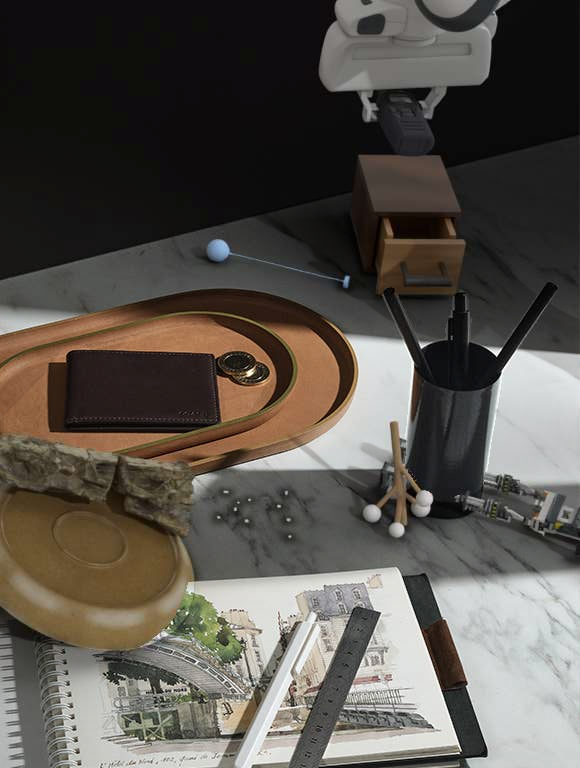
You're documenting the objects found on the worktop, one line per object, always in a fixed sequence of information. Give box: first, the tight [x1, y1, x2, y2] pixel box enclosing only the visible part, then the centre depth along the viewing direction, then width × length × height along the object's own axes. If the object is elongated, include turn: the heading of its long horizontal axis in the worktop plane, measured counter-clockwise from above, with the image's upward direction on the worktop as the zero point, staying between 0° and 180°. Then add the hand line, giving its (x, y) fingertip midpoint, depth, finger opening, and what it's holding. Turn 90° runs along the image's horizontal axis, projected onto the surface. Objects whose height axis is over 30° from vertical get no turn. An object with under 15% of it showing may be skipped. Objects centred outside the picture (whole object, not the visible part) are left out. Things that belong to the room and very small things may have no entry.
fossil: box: [0, 433, 196, 539], centre depth 128 cm, size 22×7×10 cm
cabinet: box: [349, 154, 463, 274], centre depth 177 cm, size 16×12×10 cm
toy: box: [378, 437, 580, 557], centre depth 136 cm, size 8×7×30 cm
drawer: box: [373, 216, 467, 296], centre depth 170 cm, size 19×10×8 cm, turn 0°
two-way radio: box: [375, 89, 436, 157], centre depth 156 cm, size 6×4×15 cm
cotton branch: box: [362, 420, 434, 539], centre depth 136 cm, size 7×6×12 cm
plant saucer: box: [0, 481, 195, 652], centre depth 127 cm, size 24×24×3 cm
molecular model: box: [206, 239, 351, 289], centre depth 173 cm, size 3×20×3 cm, turn 68°
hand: (396, 118), depth 156 cm, fingers closed on two-way radio, 5 cm apart
